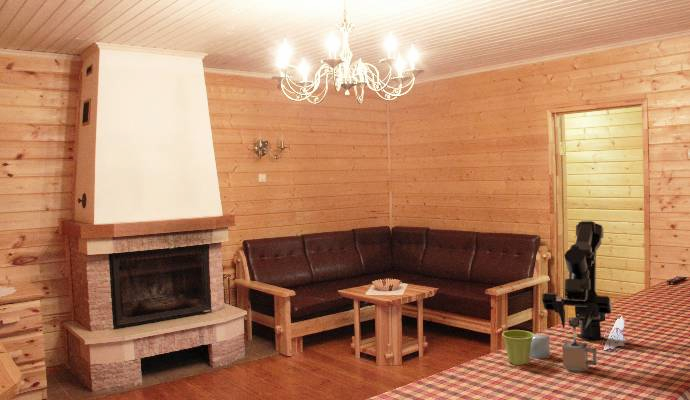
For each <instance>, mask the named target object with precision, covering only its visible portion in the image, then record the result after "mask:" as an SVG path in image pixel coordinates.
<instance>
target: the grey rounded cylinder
mask: <svg viewBox="0 0 690 400" xmlns="http://www.w3.org/2000/svg"><path fill="white" fill-rule="evenodd" d="M533 334H534V337H533V339H532V342H531V350H530V357H531V358H534V359H539V360H540V359H543V360H544V359H549V358H550V353H551V351H550V336H549V335H548V334H547V335H546V334H541V333H540V334H539V333H533Z"/></svg>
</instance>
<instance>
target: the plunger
mask: <svg viewBox="0 0 690 400" xmlns="http://www.w3.org/2000/svg"><path fill="white" fill-rule="evenodd" d="M568 326H569V327H572V333H573V334H572V335H573V336H572V338H573V341H572V342H574V346H577V343H576V342H577V327H580V318H576V316H575V317H573V316H572V317H568Z"/></svg>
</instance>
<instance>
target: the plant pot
mask: <svg viewBox="0 0 690 400" xmlns="http://www.w3.org/2000/svg"><path fill="white" fill-rule="evenodd" d="M534 334H535V333H533V332H531V331H527V330H522V329H521V330H520V329H511V330H506V331H503V332H502V334H501V335H502V337H503V340H504V341H505V343H504V344H505V349H506V354H507V355H506V356H507V361H508V363H511V364H512V365H515V366H516V365H517V366H523V365H528V364H529V363H530V357H531V356H530V350H531V342H532V339H533V337H534Z"/></svg>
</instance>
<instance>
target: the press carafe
mask: <svg viewBox="0 0 690 400" xmlns="http://www.w3.org/2000/svg"><path fill="white" fill-rule="evenodd" d="M576 343H577V346H574V341H569V340H567V341H564V343H563V345H562V347H561V349H562V366H563V369H564V370H565V371H568V372H572V373H574V372H575V373H580V372H581V373H582V372H587V371H589V366H597V365H598V363H597V348H596V347H595V348H594V347H588V346H589V343H588V342H579V341H576ZM589 353H592V360H589Z"/></svg>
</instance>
